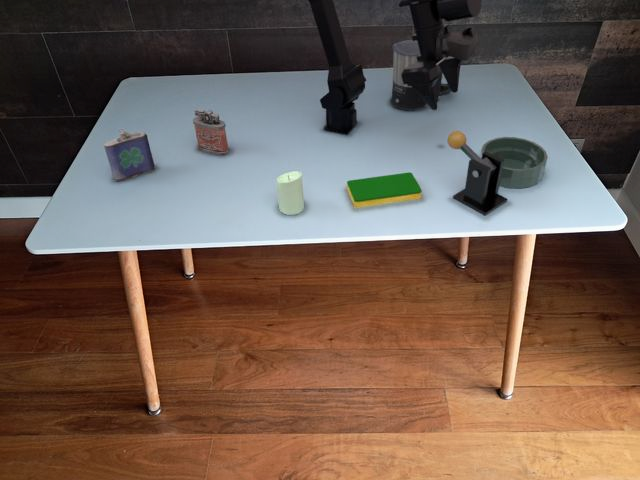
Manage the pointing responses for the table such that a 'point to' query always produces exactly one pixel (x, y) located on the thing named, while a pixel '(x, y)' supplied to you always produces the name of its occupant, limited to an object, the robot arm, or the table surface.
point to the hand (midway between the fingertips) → (445, 100)
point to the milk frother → (402, 93)
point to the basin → (518, 161)
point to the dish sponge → (383, 189)
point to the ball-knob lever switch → (482, 186)
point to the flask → (129, 155)
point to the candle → (290, 193)
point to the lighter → (210, 133)
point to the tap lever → (467, 148)
